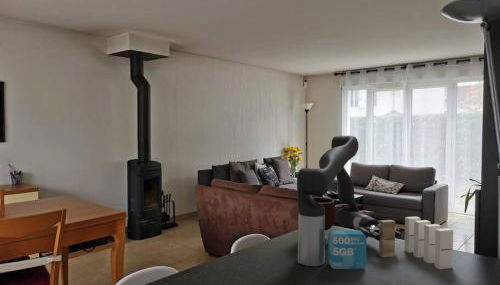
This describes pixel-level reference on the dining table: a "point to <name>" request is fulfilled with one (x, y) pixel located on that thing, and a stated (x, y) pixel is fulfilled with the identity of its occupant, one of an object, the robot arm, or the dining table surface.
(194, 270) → the dining table surface
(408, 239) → the tile
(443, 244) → the end tile
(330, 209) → the mate gourd
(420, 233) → the tile
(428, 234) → the white domino block
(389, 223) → the tile
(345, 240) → the data package
